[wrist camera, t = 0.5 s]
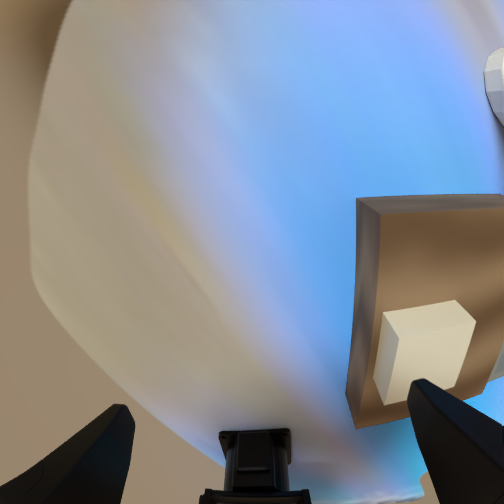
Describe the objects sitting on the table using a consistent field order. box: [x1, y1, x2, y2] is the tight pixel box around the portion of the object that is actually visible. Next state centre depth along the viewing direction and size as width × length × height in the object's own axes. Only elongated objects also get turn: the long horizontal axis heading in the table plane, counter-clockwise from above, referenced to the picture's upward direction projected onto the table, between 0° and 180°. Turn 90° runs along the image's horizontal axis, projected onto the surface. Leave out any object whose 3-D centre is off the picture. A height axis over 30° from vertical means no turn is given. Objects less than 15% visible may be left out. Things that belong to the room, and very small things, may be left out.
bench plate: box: [345, 194, 504, 429], centre depth 18 cm, size 16×12×4 cm
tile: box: [373, 300, 476, 405], centre depth 16 cm, size 5×5×2 cm
